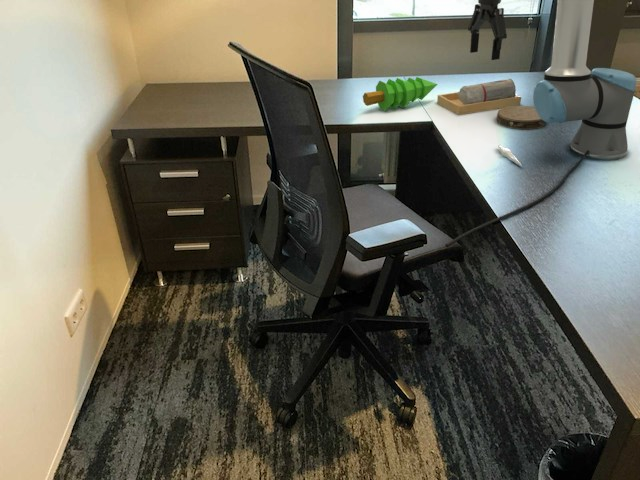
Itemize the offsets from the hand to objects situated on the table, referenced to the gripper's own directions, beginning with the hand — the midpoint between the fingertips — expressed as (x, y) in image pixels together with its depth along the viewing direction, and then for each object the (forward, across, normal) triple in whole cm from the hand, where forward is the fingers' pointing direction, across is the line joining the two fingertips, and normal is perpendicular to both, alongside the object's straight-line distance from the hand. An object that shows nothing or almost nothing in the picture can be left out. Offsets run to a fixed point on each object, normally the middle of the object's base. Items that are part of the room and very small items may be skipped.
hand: (484, 55), depth 197 cm
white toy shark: (+18, -48, +20) cm, 55 cm away
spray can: (+13, -3, -11) cm, 17 cm away
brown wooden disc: (+18, -22, -2) cm, 29 cm away
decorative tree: (+18, +10, +27) cm, 34 cm away
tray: (+18, 0, 0) cm, 18 cm away
